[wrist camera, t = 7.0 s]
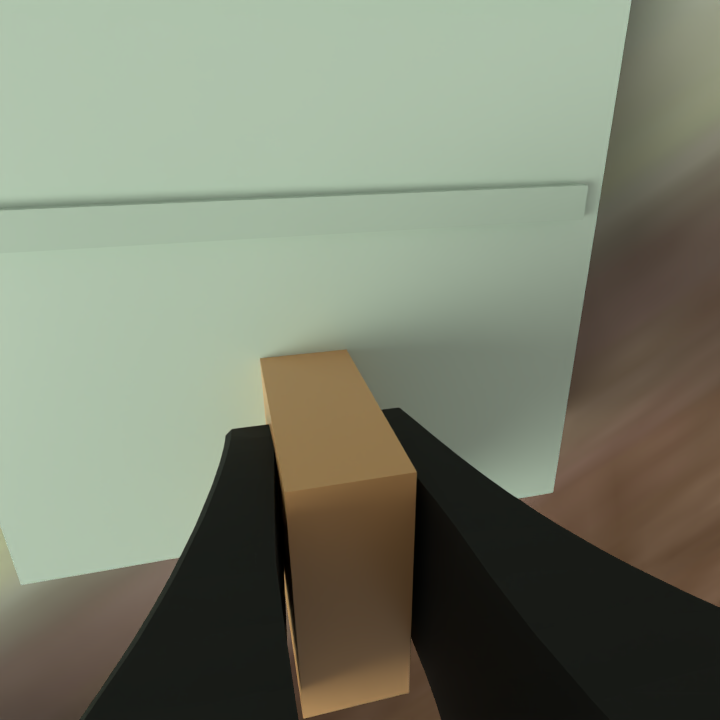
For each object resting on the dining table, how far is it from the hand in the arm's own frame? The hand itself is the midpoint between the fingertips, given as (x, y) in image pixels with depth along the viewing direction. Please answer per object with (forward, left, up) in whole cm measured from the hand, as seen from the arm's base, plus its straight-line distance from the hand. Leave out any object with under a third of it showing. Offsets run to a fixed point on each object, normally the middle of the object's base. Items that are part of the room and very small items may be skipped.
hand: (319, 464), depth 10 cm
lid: (+4, 0, -2) cm, 5 cm away
